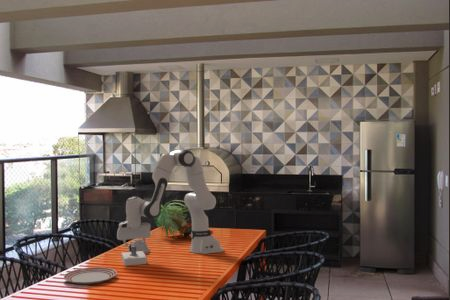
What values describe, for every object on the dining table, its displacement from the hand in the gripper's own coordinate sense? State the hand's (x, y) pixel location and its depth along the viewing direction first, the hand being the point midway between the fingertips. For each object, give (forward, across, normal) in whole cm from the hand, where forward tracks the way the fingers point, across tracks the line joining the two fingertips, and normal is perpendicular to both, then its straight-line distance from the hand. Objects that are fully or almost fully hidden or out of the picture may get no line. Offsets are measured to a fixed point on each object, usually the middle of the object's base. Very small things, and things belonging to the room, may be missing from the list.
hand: (134, 245), depth 303 cm
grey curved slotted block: (+10, -5, -20) cm, 23 cm away
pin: (+9, 0, 0) cm, 9 cm away
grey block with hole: (+9, 0, 0) cm, 9 cm away
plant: (+11, -38, -65) cm, 76 cm away
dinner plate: (+9, +27, +33) cm, 44 cm away
